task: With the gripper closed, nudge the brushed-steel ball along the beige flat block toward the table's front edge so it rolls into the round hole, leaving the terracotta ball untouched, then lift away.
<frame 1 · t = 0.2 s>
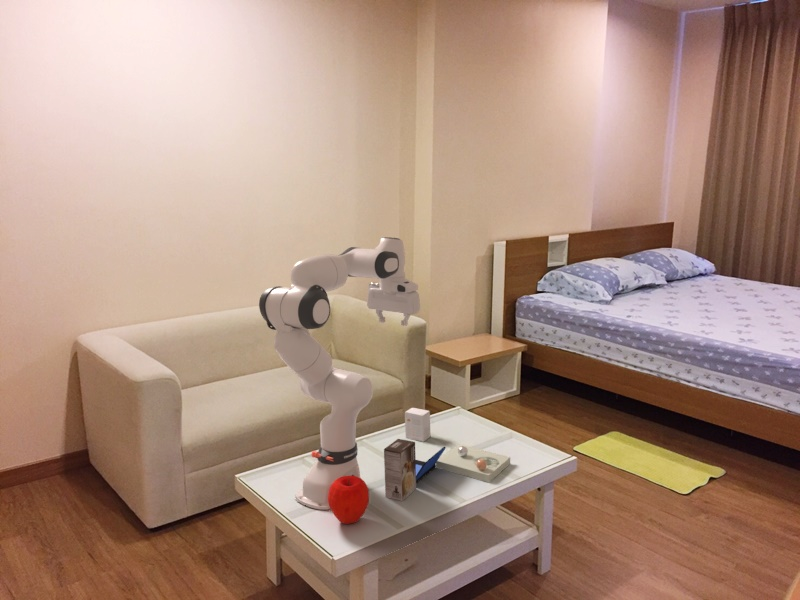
hand: (393, 323, 221), 47 cm above the table, fingers open, 8 cm apart
terracotta ball: (481, 464, 210), point 4 cm above the table, touching beige flat block
small box: (417, 437, 243), on the table
beige flat block: (473, 465, 218), on the table
apple: (349, 522, 185), on the table
coffee box: (400, 493, 201), on the table
handheld game console: (418, 476, 212), on the table
steel ball: (462, 451, 220), point 4 cm above the table, touching beige flat block
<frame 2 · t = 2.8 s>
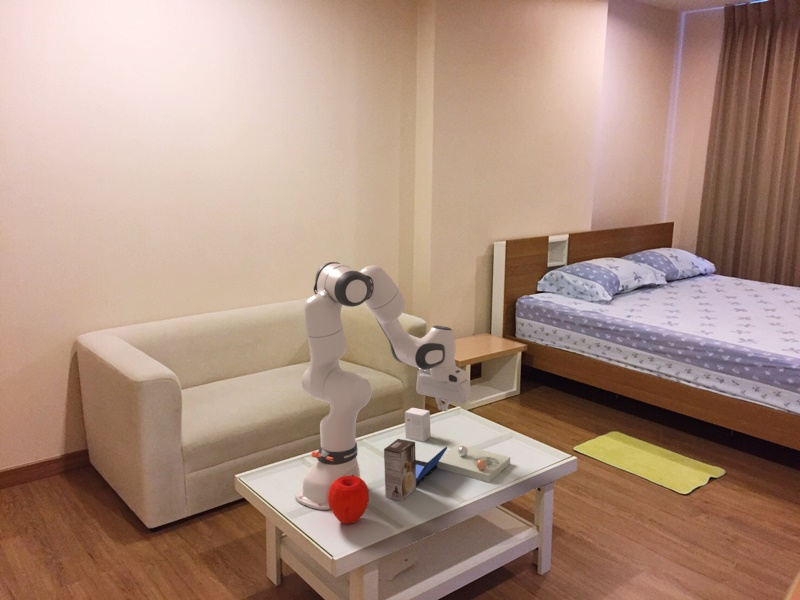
hand: (443, 410, 222), 18 cm above the table, fingers closed
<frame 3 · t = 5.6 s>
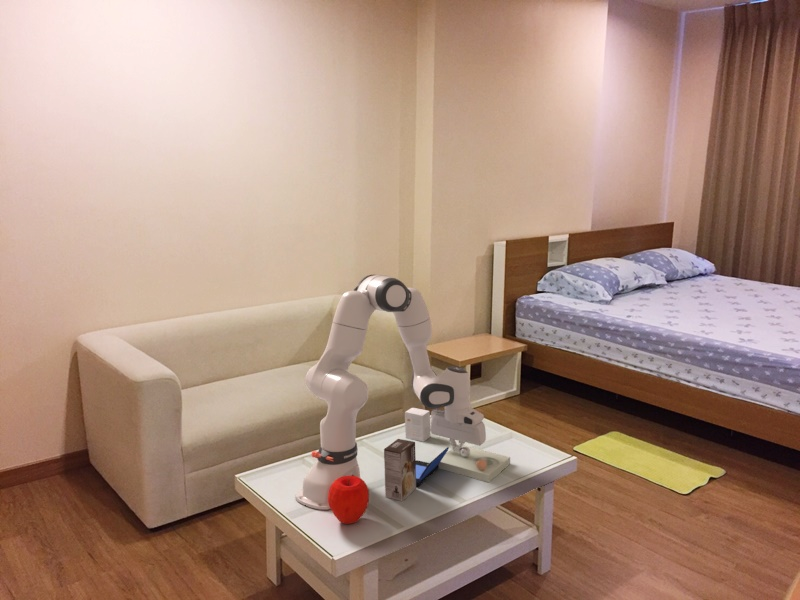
hand: (457, 450, 221), 4 cm above the table, fingers closed
steel ball: (465, 451, 219), point 4 cm above the table, tilted 28°, touching beige flat block
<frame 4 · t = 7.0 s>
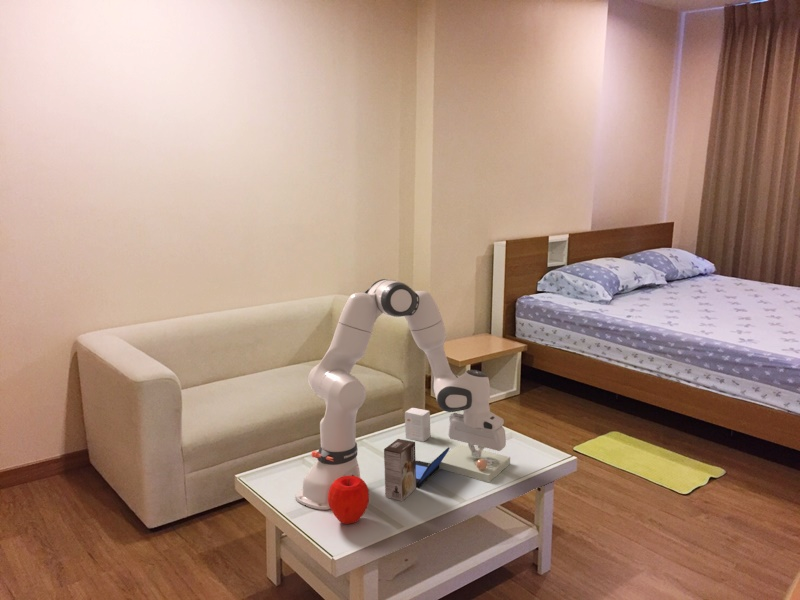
hand: (476, 456, 217), 4 cm above the table, fingers closed
steel ball: (487, 464, 215), point 2 cm above the table
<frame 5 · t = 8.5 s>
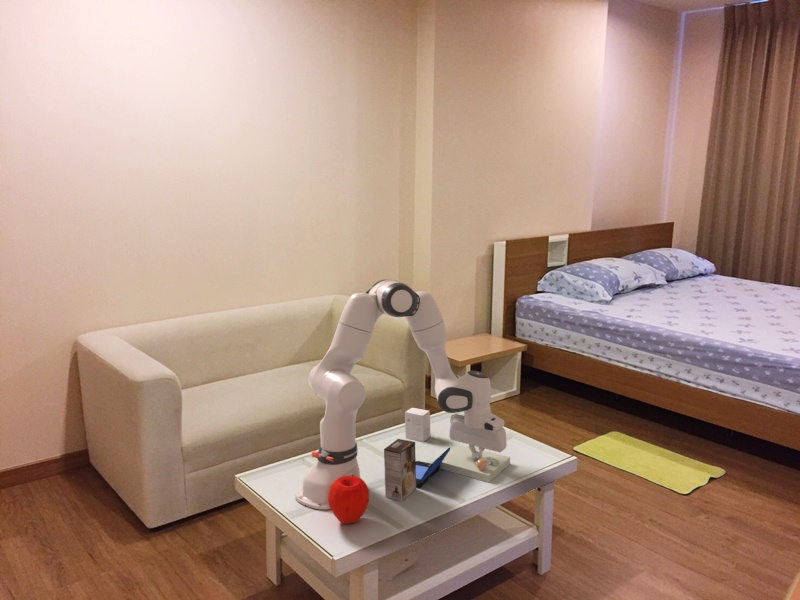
hand: (477, 457, 217), 4 cm above the table, fingers closed
steel ball: (486, 464, 215), point 2 cm above the table, tilted 11°
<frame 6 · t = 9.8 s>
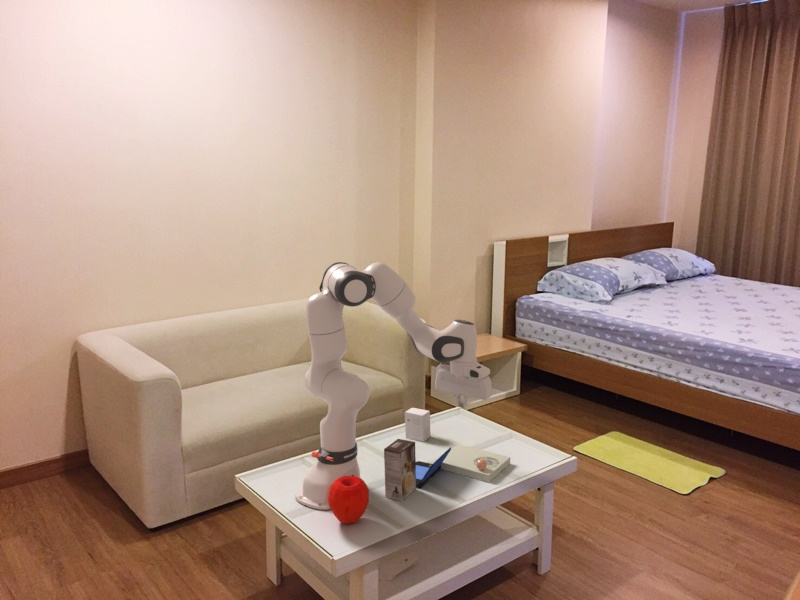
hand: (462, 407, 217), 20 cm above the table, fingers closed
steel ball: (485, 464, 216), point 2 cm above the table, tilted 24°
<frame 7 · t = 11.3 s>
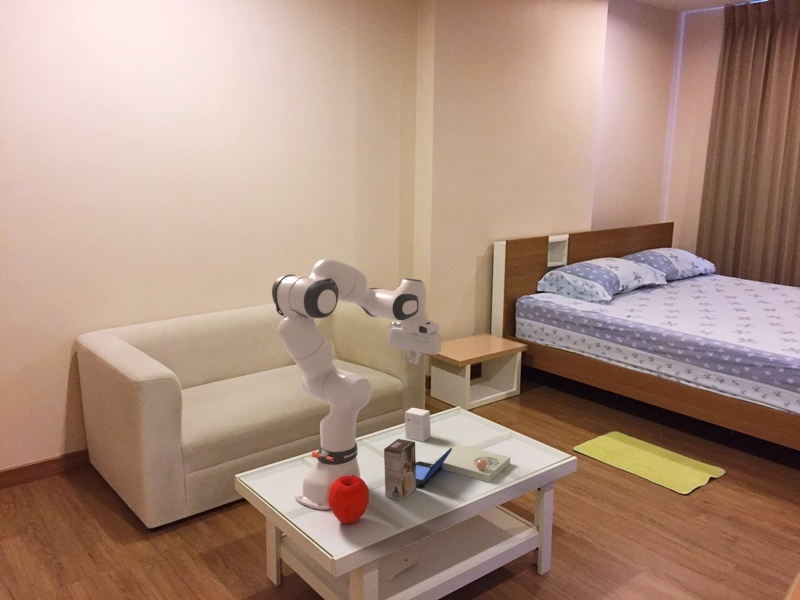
hand: (414, 363, 224), 33 cm above the table, fingers closed
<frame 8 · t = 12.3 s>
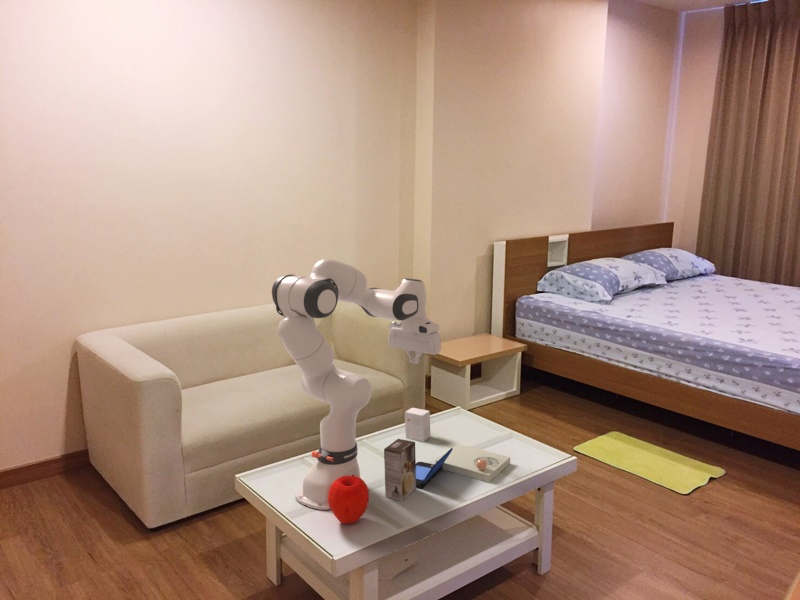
hand: (414, 362, 224), 33 cm above the table, fingers closed
at the end: steel ball 0.5 cm from the target spot in the beige flat block, point 1.7 cm above the beige flat block's base; terracotta ball moved 0.0 cm from its start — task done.
